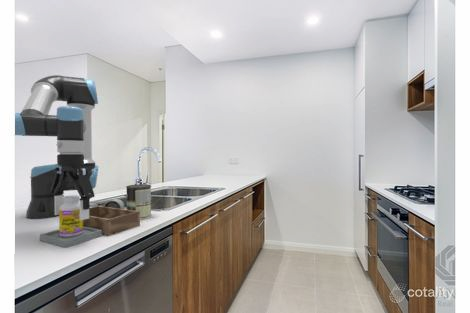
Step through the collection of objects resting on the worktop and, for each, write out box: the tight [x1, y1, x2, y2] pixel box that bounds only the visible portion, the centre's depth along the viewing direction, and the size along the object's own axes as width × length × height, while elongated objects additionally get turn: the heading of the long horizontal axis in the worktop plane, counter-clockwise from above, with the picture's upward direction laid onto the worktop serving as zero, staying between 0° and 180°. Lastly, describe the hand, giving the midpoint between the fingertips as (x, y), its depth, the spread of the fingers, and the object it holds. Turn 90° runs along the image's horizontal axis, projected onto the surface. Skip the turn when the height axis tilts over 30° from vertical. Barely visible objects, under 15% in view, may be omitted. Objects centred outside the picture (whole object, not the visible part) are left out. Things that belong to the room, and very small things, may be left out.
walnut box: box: [83, 205, 141, 237], centre depth 98 cm, size 24×14×6 cm, turn 64°
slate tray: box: [39, 226, 103, 249], centre depth 84 cm, size 14×12×2 cm
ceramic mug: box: [103, 198, 125, 209], centre depth 114 cm, size 11×8×8 cm
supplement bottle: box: [58, 194, 83, 237], centre depth 84 cm, size 7×7×13 cm
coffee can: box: [125, 183, 152, 221], centre depth 111 cm, size 10×10×14 cm
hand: (71, 216), depth 84 cm, fingers open, 13 cm apart
